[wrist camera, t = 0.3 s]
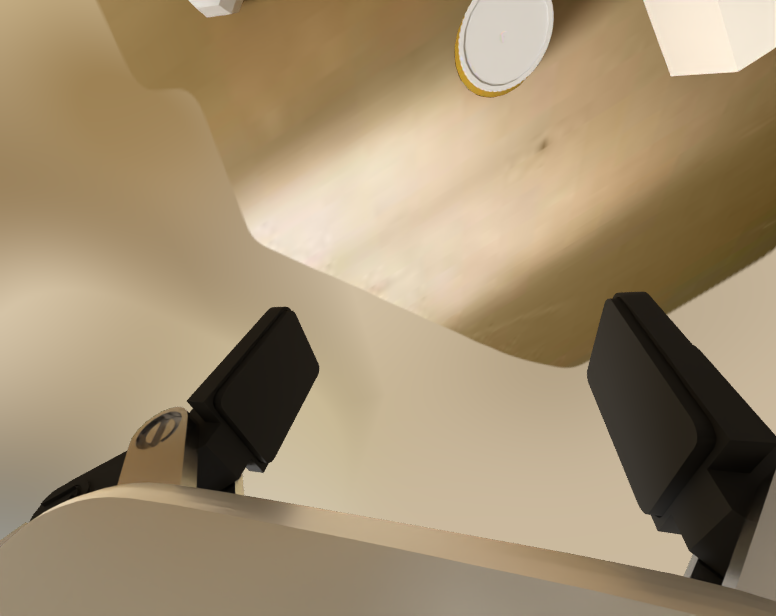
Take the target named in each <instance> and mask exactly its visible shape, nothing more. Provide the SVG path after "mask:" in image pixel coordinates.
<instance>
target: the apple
mask: <svg viewBox="0 0 776 616" xmlns="http://www.w3.org/2000/svg"><path fill="white" fill-rule="evenodd" d="M189 1H190V2H191V3H192V4H193V5H194V6H195V7H196V8H197V9H198V10H199V11H200V12H201V13H203V14H204V15H205V16H206V17H213V16H220V15H227V14H233V13H236V12H239V10H240V8H241V6H242V3H243V0H189Z"/></svg>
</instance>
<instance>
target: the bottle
mask: <svg viewBox="0 0 776 616" xmlns="http://www.w3.org/2000/svg"><path fill="white" fill-rule="evenodd" d="M553 14H554V12H553V5H552V0H472V2H471V5H470V6H469V7H468V10H467V12H466V13H465V15H464V18H463V20H462V22H461V25H460V27H459V30H458V33H457V38H456V43H455V64H456V69H457V71H458V74H459V77H460V79H461V80H462V82H463V83H464V85H465V86H466V88H468V90H469V91H472V92H473V93H475V94H476V95H479V96H483V97H497V96H501V95H504V94H507V93H508V92H510V91H512V90H513V89H515V88H517V87H518V86H519V85H520V84H521V83H522V82H523V81H524V80H525V79H526V78H527V77H528V76H529V75H530V73H531V72H532V71H534V70H535V68H536V66H538V63H539V62H540V61H541V60H542V57H543V55H544V54H545V51H546V49H547V48H548V44H549V42H550V38H551V35H552V28H553V21H554V18H553Z"/></svg>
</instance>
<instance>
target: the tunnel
mask: <svg viewBox="0 0 776 616" xmlns="http://www.w3.org/2000/svg"><path fill="white" fill-rule="evenodd" d="M643 1H644V4H645V6H646V9H647V12H648V15H649V17H650V20H651V23H652V26H653V28H654V31H655V34H656V36H657V39H658V42H659V45H660V47H661V50H662V53H663V56H664V58H665V61H666V64H667V67H668V69H669V72H670V75H671V76H681V75H696V74H711V73H725V72H738V71H740V70H741V69H743V68H744V67H746V66H748V65H749V64H751V63H752V62H754V61H755V60H757V59H758V58H760V57H762V56H763V55H765V54H766V53H768V52H769V51H771V50H772V49H774V48H776V0H643Z"/></svg>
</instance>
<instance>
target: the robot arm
mask: <svg viewBox="0 0 776 616" xmlns="http://www.w3.org/2000/svg"><path fill="white" fill-rule="evenodd" d="M318 373H319V365H318V362H317V360H316V358H315V355H314V353H313V351H312V349H311V347H310V344H309V342H308V340H307V338H306V336H305V334H304V331H303V329H302V327H301V325H300V323H299V320H298V318H297V316H296V314H295V312H293V311H291V309H290V308H288V307H272V308H270V309H269V310H268V311H267V312H266V313H265V314H264V315H263V316H262V317H261V318H260V320H259V321H258V322H257V323H256V324H255V325H254V326H253V328H252V329H251V330H250V331H249V332H248V333H247V334H246V335H245V336H244V337H243V339H242V340H241V341H240V342H239V343H238V344H237V345H236V347H234V349H233V350H232V351H231V352H230V353H229V354H228V355H227V356H226V358H225V359H224V360H223V361H222V362H221V363H220V364H219V365H218V367H217V368H216V369H215V370H214V371H213V372H212V373H211V374H210V375H209V377H208V378H207V379H206V380H205V381H204V382H203V383H202V384H201V385H200V387H199V388H198V389H197V390H196V391H195V392H194V393H193V394H192V396H191V397H190V398H189V399H188V400H187V402H188V403H189V404H190V405H191V407H192V408H193V409H192V410H191V412H190V413H189V412H188V411H187V410H185V408H182V407H173V408H169V409H167V410H164V411H162V412H160V413H158V414H156V415H155V416H153V417H152V418H151V419H149V420H148V421H146V422H145V423H144V424H143V425H142V426H141V427H140V428H139V429H138V430H137V432H136V433H135V434H134V436H133V437H132V439H131V441H130V444H129V447H128V450H127V451H126V452H124V453H122V454H120V455H118V456H116V457H114V458H113V459H111V460H109V461H107V462H105V463H103V464H101V465H99V466H98V467H96V468H94V469H92V470H90V471H88V472H86V473H85V474H83V475H81V476H79V477H77V478H75V479H73V480H72V481H70V482H69V483H67V484H65V485H63V486H61V487H60V488H58V489H57V490H55V491H54V492H52V493H51V494H50V495H49V496H48V497H47V498H46V499H45V500H44V501H43V502H42V503H41V506H40V507H39V508H38V510H37V511H36V512H35V513H34V514H33V516H32V518H31V520H30V522H29V523H26V522H25V523H24V524H22V525H21V526H20V527H18V528H17V529H15V530H14V531H13V532H11V533H10V534H9V535H7V536H6V537H4V538H3V539H2V540H0V616H776V436H775V434H774V433H773V432H772V431H771V430H770V429H769V428H768V426H767V425H766V424H765V423H764V422H763V421H762V420H761V419H760V417H759V416H758V415H757V414H756V413H755V412H754V411H753V410H752V409H751V407H750V406H749V405H748V404H747V403H746V402H745V400H744V399H743V398H742V397H741V396H740V395H739V394H738V393H737V392H736V390H735V389H734V388H733V387H732V386H731V385H730V384H729V382H728V381H727V380H726V379H725V378H724V377H723V376H722V375H721V373H720V372H719V371H718V370H717V369H716V368H715V367H714V365H713V364H712V363H711V362H710V361H709V360H708V359H707V358H706V356H704V354H703V353H702V352H701V351H700V350H699V349H698V348H697V347H696V346H694V345H692V343H690V341H689V340H688V339H687V338H686V337H685V336H684V334H683V333H682V332H681V331H680V330H679V329H678V327H676V325H675V324H674V323H673V322H672V321H671V320H670V318H669V317H668V316H667V315H666V314H665V313H664V311H663V310H662V309H661V308H660V307H659V306H658V305H657V303H656V302H655V301H654V300H653V299H652V298H651V297H650V295H649V294H647V293H646V292H624V293H616V294H615V295H614V297H613V299H607V300H606V301H605V304H604V308H603V312H602V316H601V319H600V323H599V327H598V331H597V335H596V339H595V343H594V346H593V350H592V354H591V358H590V362H589V366H588V370H587V378H588V383H589V385H590V388H591V390H592V393H593V395H594V397H595V400H596V402H597V405H598V407H599V410H600V412H601V415H602V417H603V419H604V422H605V424H606V427H607V429H608V432H609V434H610V437H611V439H612V441H613V444H614V446H615V449H616V451H617V453H618V456H619V458H620V461H621V463H622V466H623V468H624V471H625V473H626V476H627V478H628V480H629V483H630V485H631V488H632V490H633V493H634V495H635V498H636V500H637V502H638V505H639V507H640V508H641V510H642V511H643V512H644V513H645V514H649V515H651V516H652V519H653V521H654V523H655V526H656V528H657V530H658V531H661V532H668V533H675V534H681V535H682V537H683V539H684V541H685V543H686V545H687V547H688V549H689V551H690V552H691V553H693V555H692V558H691V560H690V562H689V565H688V567H687V569H686V571H685V574H684V576H679V575H675V574H670V573H665V572H660V571H655V570H650V569H645V568H640V567H635V566H630V565H625V564H620V563H615V562H610V561H605V560H599V559H595V558H590V557H585V556H579V555H574V554H570V553H564V552H559V551H553V550H547V549H542V548H537V547H531V546H526V545H520V544H514V543H509V542H504V541H498V540H493V539H487V538H482V537H476V536H471V535H465V534H460V533H454V532H449V531H443V530H438V529H432V528H427V527H421V526H415V525H409V524H404V523H399V522H393V521H387V520H382V519H375V518H370V517H365V516H359V515H353V514H348V513H342V512H337V511H331V510H325V509H320V508H314V507H308V506H302V505H296V504H291V503H285V502H279V501H273V500H267V499H261V498H256V497H250V496H244V488H243V475H242V473H243V471H244V469H245V468H247V469H248V470H249V471H255V472H261V473H263V472H264V471H265V469H266V467H267V465H268V463H270V462H272V461H273V460H274V458H275V456H276V454H277V452H278V451H279V449H280V447H281V445H282V443H283V441H284V439H285V437H286V435H287V433H288V431H289V429H290V427H291V426H292V424H293V422H294V420H295V418H296V416H297V414H298V412H299V410H300V408H301V406H302V404H303V402H304V401H305V399H306V397H307V395H308V393H309V391H310V389H311V387H312V385H313V383H314V381H315V379H316V378H317V376H318Z"/></svg>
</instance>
